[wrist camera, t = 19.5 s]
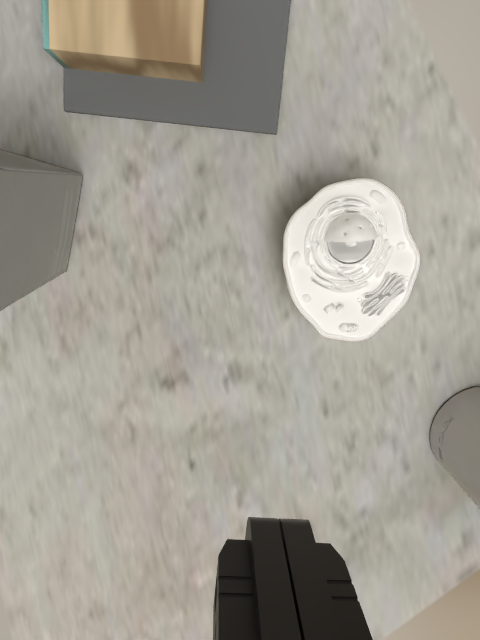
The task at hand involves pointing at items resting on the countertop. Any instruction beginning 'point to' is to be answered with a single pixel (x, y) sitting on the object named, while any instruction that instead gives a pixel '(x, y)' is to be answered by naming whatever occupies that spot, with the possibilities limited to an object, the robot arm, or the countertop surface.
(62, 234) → the skincare box
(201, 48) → the block
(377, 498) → the countertop surface
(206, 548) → the countertop surface
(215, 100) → the mat
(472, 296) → the countertop surface
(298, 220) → the cell model
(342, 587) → the robot arm
